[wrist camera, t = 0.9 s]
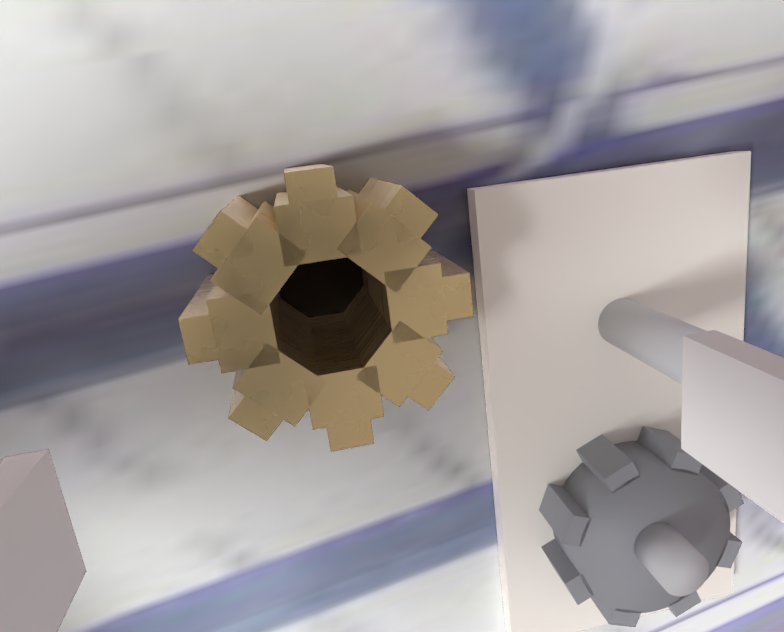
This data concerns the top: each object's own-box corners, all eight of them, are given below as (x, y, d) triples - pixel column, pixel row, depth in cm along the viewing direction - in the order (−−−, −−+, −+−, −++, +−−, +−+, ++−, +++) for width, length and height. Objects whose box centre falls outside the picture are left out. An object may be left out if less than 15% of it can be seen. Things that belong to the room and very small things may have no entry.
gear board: (505, 632, 35) (577, 787, 27) (466, 188, 28) (547, 202, 20) (719, 580, 37) (852, 709, 29) (733, 151, 30) (916, 148, 21)
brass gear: (233, 391, 29) (214, 474, 21) (188, 181, 26) (148, 190, 19) (433, 355, 30) (483, 422, 23) (410, 152, 27) (458, 149, 20)
